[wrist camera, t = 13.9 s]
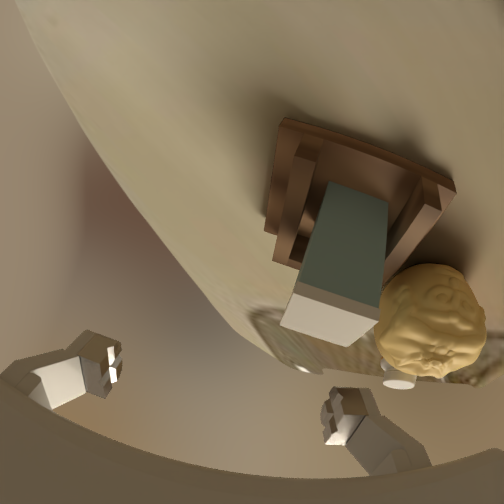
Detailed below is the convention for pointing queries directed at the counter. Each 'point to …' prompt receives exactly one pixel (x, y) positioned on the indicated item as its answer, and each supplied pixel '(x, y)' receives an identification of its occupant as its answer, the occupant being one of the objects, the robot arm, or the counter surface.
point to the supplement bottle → (396, 377)
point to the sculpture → (429, 321)
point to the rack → (352, 176)
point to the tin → (341, 268)
